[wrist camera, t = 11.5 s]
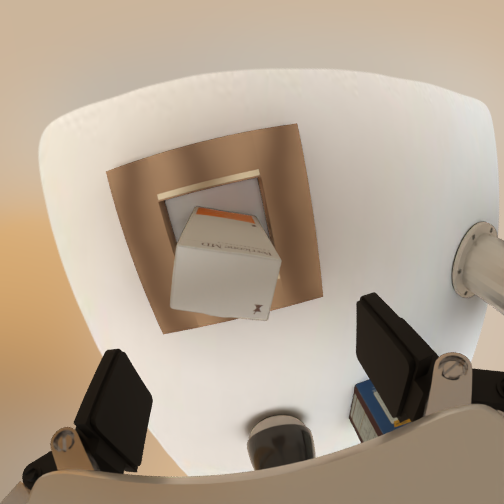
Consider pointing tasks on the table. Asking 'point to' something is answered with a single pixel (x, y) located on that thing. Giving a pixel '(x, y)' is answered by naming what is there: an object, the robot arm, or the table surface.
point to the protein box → (371, 413)
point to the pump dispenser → (280, 442)
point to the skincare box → (224, 266)
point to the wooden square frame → (208, 176)
